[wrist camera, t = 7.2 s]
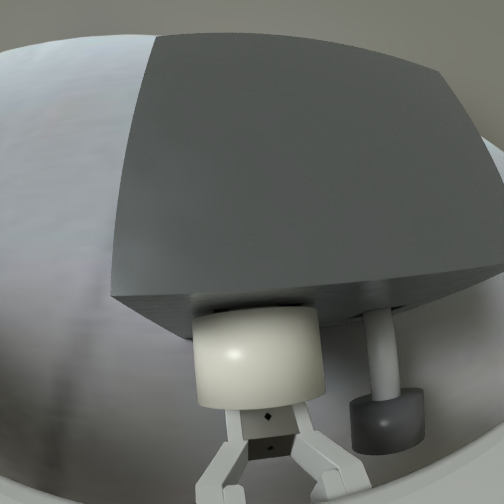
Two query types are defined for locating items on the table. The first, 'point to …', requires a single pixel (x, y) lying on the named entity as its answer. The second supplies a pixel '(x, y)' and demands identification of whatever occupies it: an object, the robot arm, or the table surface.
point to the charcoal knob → (385, 396)
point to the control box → (299, 183)
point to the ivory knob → (258, 357)
